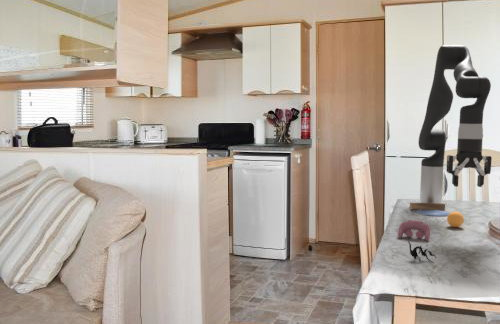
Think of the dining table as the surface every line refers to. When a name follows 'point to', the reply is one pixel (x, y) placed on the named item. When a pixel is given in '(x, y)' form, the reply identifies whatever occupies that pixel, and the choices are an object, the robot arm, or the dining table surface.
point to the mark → (433, 212)
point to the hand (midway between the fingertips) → (467, 186)
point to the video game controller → (417, 225)
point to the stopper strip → (427, 206)
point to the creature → (414, 252)
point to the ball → (455, 219)
